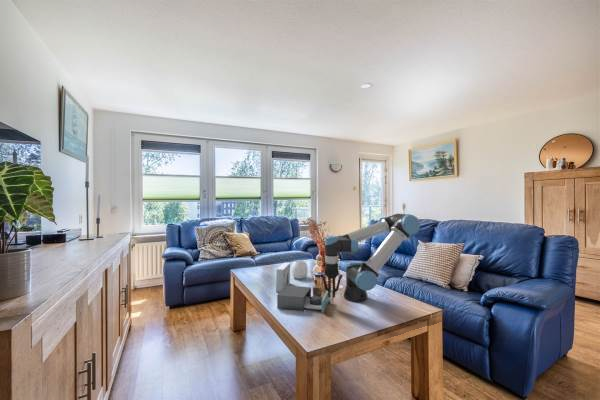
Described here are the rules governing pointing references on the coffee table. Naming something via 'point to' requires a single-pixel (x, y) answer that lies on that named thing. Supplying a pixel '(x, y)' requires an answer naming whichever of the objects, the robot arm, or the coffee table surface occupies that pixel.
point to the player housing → (293, 298)
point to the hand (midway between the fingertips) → (331, 302)
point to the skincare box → (282, 277)
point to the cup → (299, 269)
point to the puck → (315, 300)
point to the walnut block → (317, 291)
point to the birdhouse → (322, 306)
